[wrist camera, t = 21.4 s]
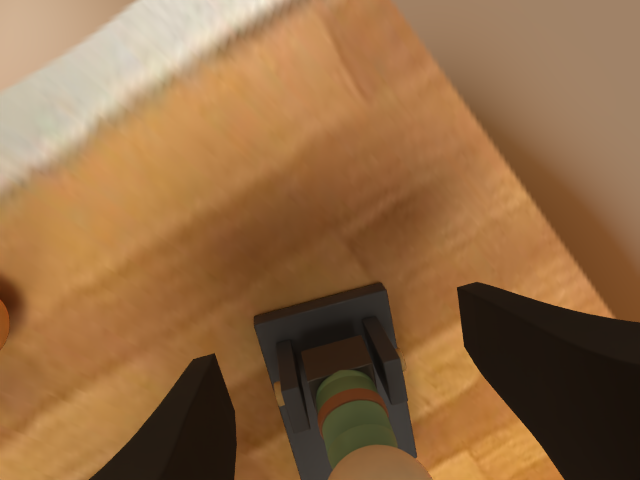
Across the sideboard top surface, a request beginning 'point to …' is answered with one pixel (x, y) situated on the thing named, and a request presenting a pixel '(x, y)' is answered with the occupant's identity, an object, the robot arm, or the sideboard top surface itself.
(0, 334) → the figurine
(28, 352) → the sideboard top surface
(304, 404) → the toy stand
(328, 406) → the peg doll
